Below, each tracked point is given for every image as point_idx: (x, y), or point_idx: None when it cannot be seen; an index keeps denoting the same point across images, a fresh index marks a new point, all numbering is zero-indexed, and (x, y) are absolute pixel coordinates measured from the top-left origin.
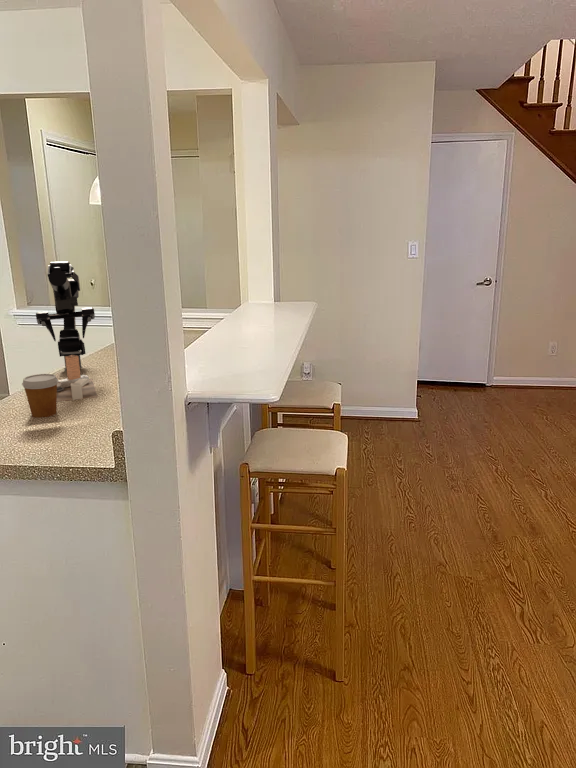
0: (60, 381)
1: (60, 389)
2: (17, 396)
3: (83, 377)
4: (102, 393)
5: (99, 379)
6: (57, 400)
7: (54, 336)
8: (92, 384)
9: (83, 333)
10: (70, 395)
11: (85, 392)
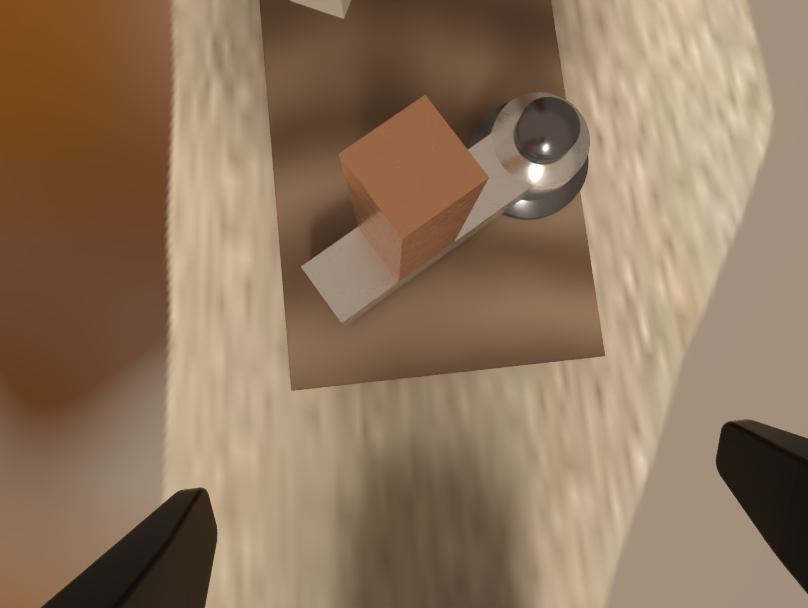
0: (496, 159)
1: (487, 133)
2: (732, 177)
3: (338, 241)
4: (233, 90)
5: (249, 455)
6: None
7: (805, 450)
8: (287, 227)
9: (143, 540)
10: (414, 9)
11: (327, 48)
